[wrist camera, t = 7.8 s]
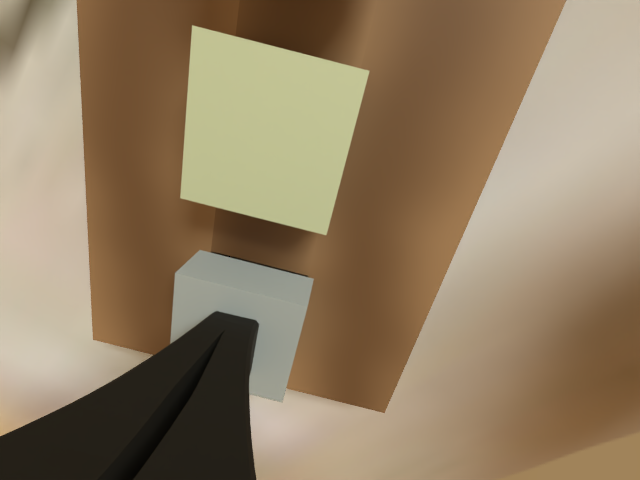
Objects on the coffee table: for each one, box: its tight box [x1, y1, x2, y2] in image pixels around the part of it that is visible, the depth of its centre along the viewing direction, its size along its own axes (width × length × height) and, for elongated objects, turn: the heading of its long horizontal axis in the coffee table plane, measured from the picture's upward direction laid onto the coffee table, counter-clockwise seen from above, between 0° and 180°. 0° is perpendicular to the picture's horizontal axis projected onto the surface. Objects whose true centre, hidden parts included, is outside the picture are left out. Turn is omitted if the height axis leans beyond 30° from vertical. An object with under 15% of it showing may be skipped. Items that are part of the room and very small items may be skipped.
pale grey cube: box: [170, 250, 314, 402], centre depth 11 cm, size 4×4×4 cm
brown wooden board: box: [77, 0, 566, 413], centre depth 9 cm, size 12×25×2 cm, turn 167°
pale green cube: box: [180, 25, 369, 235], centre depth 9 cm, size 4×4×4 cm
